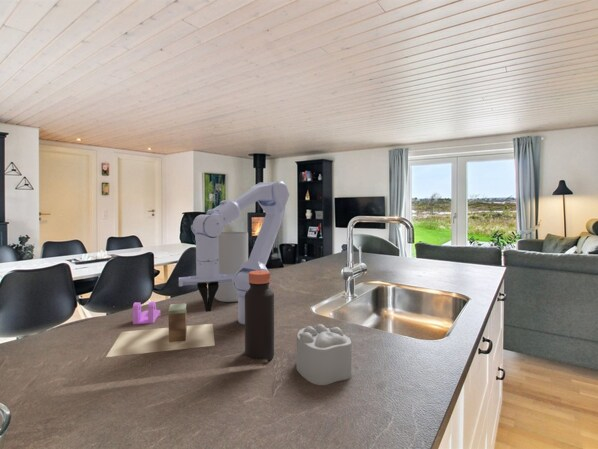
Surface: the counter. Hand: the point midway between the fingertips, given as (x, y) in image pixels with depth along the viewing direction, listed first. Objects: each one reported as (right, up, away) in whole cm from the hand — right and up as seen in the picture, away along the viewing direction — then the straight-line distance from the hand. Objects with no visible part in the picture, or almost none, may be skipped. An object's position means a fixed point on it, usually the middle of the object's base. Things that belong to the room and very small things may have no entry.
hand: (208, 310), depth 90 cm
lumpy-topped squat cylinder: (+29, -9, -16) cm, 34 cm away
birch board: (-10, -8, -2) cm, 13 cm away
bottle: (+15, -8, -11) cm, 20 cm away
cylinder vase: (-1, -5, +40) cm, 40 cm away
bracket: (-22, -7, +15) cm, 28 cm away
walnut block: (-7, -7, -2) cm, 10 cm away
